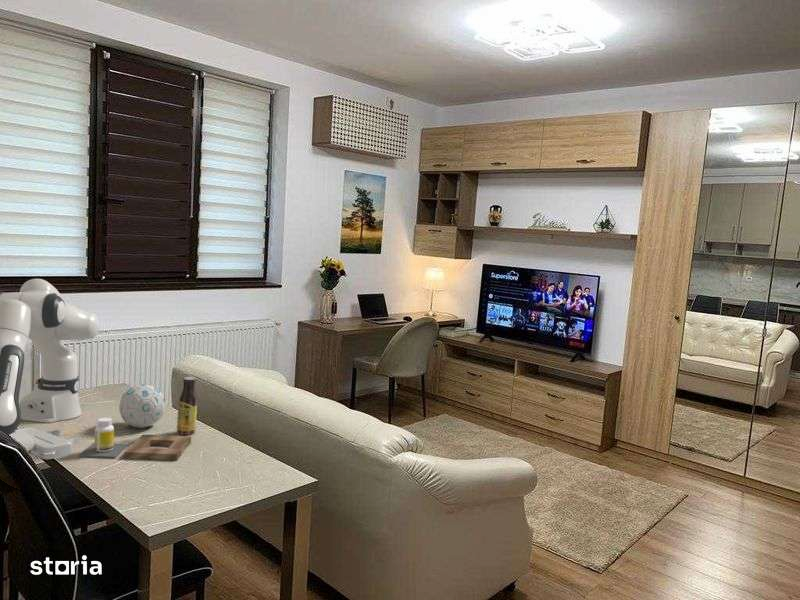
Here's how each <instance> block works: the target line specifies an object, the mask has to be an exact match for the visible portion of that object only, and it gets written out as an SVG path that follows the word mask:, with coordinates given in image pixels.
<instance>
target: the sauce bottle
mask: <svg viewBox="0 0 800 600" xmlns="http://www.w3.org/2000/svg"><path fill="white" fill-rule="evenodd" d="M196 379H197V378H196V377H192V376H185V377H183V380H182V381H183V384H182V385H183V386H182V387H183V389H182V391H181V395H180V397H179V399H178V403H177V404H178V406H177V407H178V408H177V420H176V432H177V434H178V435H179V436H180V435H181V436H188V435H189V436H190V435H194V433H196V426H197V413H198V412H197V411H198V395H197V393H196V391H195V385H196V381H197V380H196Z"/></svg>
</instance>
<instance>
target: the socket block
mask: <svg viewBox="0 0 800 600" xmlns="http://www.w3.org/2000/svg"><path fill="white" fill-rule="evenodd" d="M191 444H192V436H186V435H181V436H180V435H160V434H159V435H157V434H142V435H141V436H139V438H138V439H136V440H135V441H134V442H133V443H132V444H131V445H130V446H128V447H127V448H126V449H125V450H124V451H123V453H124V459H130V458H136V459H137V460H156V461H157V460H161V461H178V460H179V459H180V457H181V456H182V455H183V453H185V451H186V450H187V449H188V447H189V446H191ZM152 446H153V447H152ZM157 446H159V447H158V448H157ZM155 447H156V448H155ZM160 447H167V448H160ZM136 459H135V460H136Z"/></svg>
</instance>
